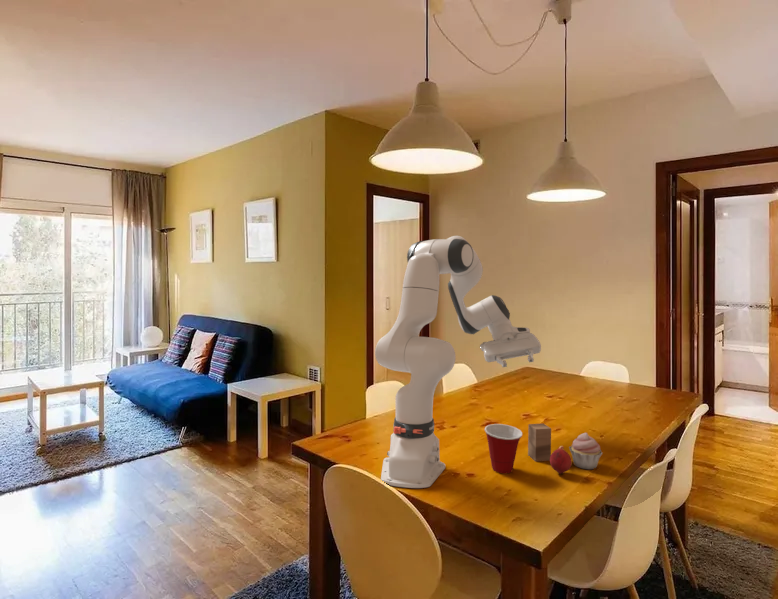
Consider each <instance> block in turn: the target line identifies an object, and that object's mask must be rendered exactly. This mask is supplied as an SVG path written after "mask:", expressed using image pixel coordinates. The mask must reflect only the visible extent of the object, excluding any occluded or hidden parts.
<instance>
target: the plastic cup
mask: <svg viewBox="0 0 778 599" xmlns="http://www.w3.org/2000/svg"><path fill="white" fill-rule="evenodd" d="M484 432H485V433H486V439H487V445H488V451H489V452H488V453H489V458H490V463H491V469H492V470H493V472H495V471H496V472H495V473H498V472H499V473H498V474H510V473H512V472H513V469H514V464H515V461H516V456H517V451H518V446H519V442H520V440H521V438H522V437H523V432H522V430H521V429H519V428H517V427H516V426H512V425H508V424H503V423H494V424H488V425H486V426H485V427H484Z"/></svg>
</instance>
